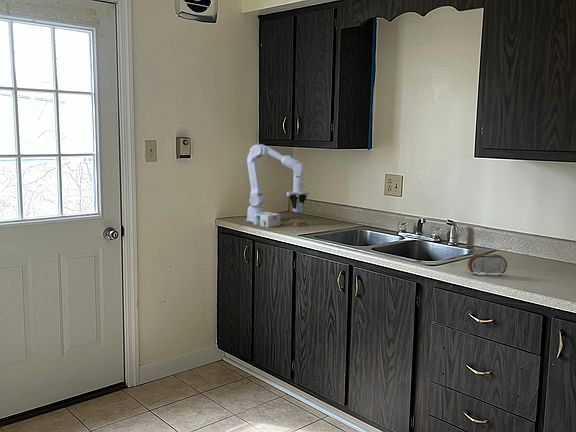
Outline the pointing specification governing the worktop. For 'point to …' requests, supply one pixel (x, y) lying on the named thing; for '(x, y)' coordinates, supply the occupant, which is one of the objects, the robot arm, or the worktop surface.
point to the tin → (487, 263)
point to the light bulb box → (266, 219)
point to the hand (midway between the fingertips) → (297, 208)
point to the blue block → (298, 207)
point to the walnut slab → (298, 222)
